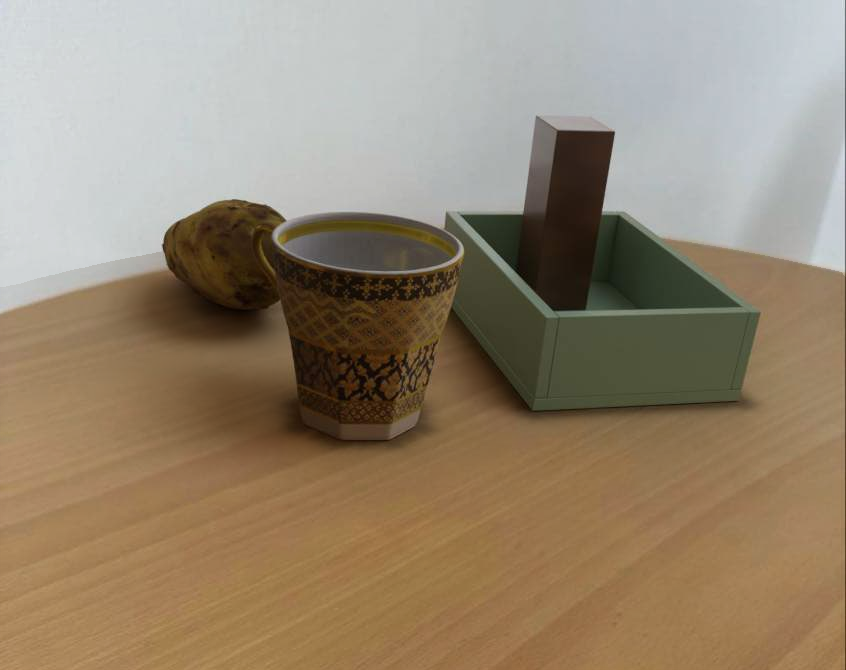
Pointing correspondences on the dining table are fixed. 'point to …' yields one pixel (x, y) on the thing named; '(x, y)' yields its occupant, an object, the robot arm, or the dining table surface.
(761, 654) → the dining table surface
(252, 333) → the dining table surface
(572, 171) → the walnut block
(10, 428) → the dining table surface
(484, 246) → the bin
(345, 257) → the ceramic cup
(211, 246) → the potato
